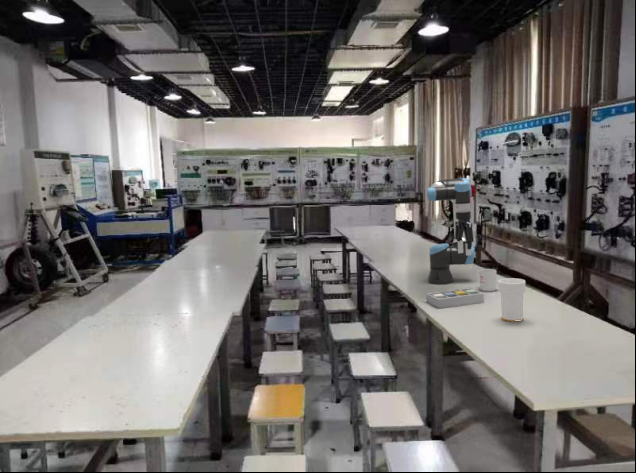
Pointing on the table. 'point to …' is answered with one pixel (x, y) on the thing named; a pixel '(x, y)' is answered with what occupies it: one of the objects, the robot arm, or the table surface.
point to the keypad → (454, 299)
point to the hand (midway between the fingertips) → (464, 254)
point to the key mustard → (460, 293)
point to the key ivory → (438, 296)
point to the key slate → (449, 294)
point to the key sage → (470, 291)
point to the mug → (487, 279)
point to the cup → (511, 298)
